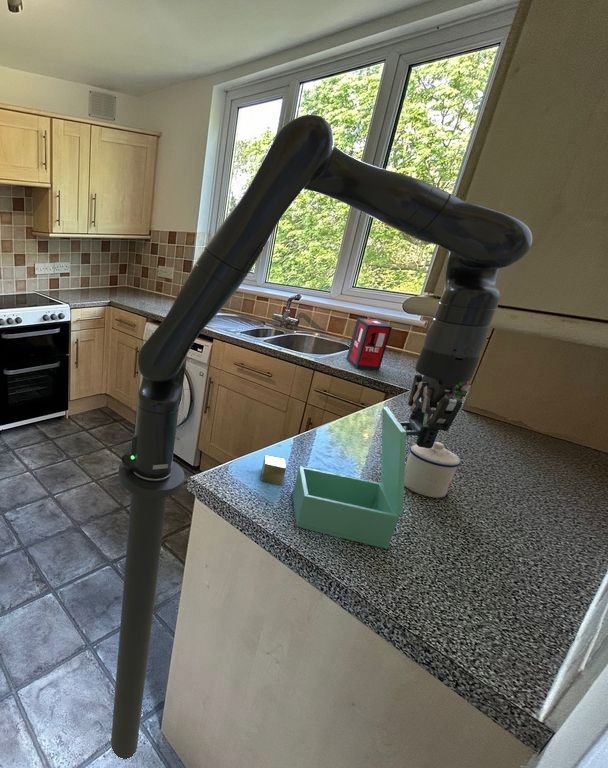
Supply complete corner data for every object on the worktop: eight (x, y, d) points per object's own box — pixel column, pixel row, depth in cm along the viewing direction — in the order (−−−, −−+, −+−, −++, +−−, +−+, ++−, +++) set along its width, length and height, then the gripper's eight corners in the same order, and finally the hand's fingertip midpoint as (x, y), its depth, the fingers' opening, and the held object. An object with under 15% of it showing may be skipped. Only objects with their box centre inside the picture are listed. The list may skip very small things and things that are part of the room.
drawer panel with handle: (400, 431, 69) (436, 431, 67) (382, 406, 79) (412, 405, 77) (397, 515, 73) (430, 517, 71) (380, 481, 83) (409, 482, 81)
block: (261, 480, 95) (265, 463, 94) (261, 470, 99) (264, 454, 98) (282, 485, 94) (286, 468, 92) (281, 475, 98) (285, 458, 96)
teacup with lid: (457, 501, 91) (476, 455, 87) (413, 496, 92) (430, 451, 88) (423, 471, 102) (439, 430, 98) (384, 468, 103) (398, 426, 99)
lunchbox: (296, 526, 81) (304, 495, 78) (292, 494, 91) (299, 466, 88) (387, 549, 76) (399, 517, 73) (372, 512, 86) (382, 483, 83)
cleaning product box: (378, 371, 180) (392, 326, 173) (356, 368, 182) (368, 324, 175) (367, 360, 195) (378, 319, 188) (346, 358, 197) (357, 317, 190)
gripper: (410, 336, 75) (383, 420, 81) (440, 356, 62) (405, 453, 68) (459, 342, 72) (428, 427, 78) (502, 364, 60) (460, 463, 66)
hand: (418, 439), depth 73 cm, fingers closed on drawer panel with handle, 5 cm apart
